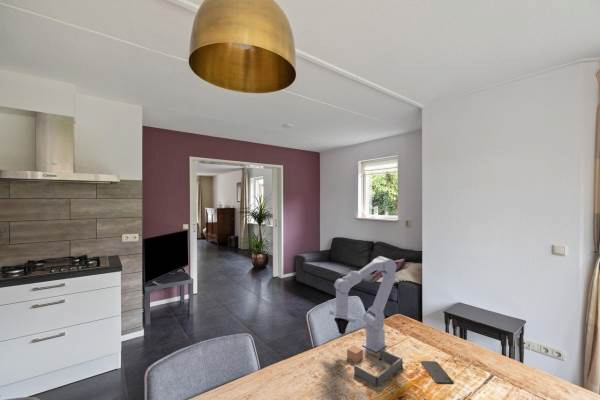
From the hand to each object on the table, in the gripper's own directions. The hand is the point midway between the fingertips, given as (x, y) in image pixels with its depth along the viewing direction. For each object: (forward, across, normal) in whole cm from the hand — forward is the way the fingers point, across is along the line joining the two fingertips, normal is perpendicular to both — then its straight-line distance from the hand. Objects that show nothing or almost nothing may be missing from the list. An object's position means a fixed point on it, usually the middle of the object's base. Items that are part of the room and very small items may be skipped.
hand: (342, 333), depth 129 cm
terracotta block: (+9, +8, 0) cm, 11 cm away
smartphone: (+9, +36, +17) cm, 41 cm away
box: (+8, +20, 0) cm, 22 cm away
